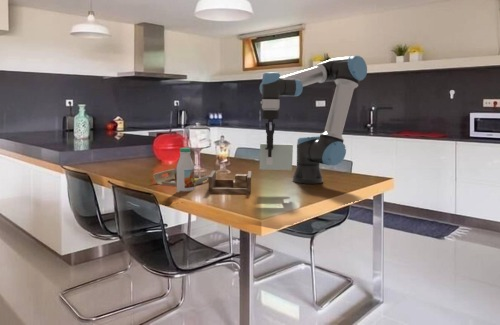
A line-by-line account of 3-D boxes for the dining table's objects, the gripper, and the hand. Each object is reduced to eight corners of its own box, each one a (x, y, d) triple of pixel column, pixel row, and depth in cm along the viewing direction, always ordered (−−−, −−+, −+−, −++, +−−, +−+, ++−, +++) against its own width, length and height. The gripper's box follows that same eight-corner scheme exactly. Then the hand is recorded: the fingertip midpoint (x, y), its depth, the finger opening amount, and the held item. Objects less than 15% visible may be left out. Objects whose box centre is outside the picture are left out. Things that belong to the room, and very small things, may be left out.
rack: (251, 189, 185) (251, 171, 184) (250, 197, 170) (250, 177, 168) (212, 188, 186) (212, 170, 184) (208, 196, 170) (208, 176, 169)
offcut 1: (247, 180, 182) (247, 174, 182) (246, 182, 178) (246, 176, 177) (236, 180, 182) (236, 173, 182) (235, 182, 178) (235, 175, 178)
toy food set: (152, 184, 195) (152, 169, 194) (174, 178, 212) (173, 164, 210) (197, 189, 185) (197, 173, 184) (216, 182, 202) (216, 167, 200)
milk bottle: (177, 194, 172) (177, 149, 169) (176, 191, 180) (175, 147, 177) (195, 194, 174) (195, 148, 171) (193, 190, 182) (192, 146, 179)
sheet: (291, 168, 175) (292, 144, 174) (291, 170, 172) (292, 144, 170) (259, 168, 175) (260, 143, 174) (259, 169, 172) (260, 144, 170)
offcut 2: (246, 186, 183) (246, 180, 183) (246, 188, 178) (246, 182, 178) (233, 186, 183) (233, 180, 183) (233, 188, 178) (233, 182, 178)
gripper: (261, 109, 178) (260, 160, 182) (261, 109, 162) (260, 166, 165) (278, 109, 178) (276, 161, 182) (280, 110, 162) (278, 166, 165)
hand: (269, 163), depth 173 cm, fingers closed on sheet, 3 cm apart
